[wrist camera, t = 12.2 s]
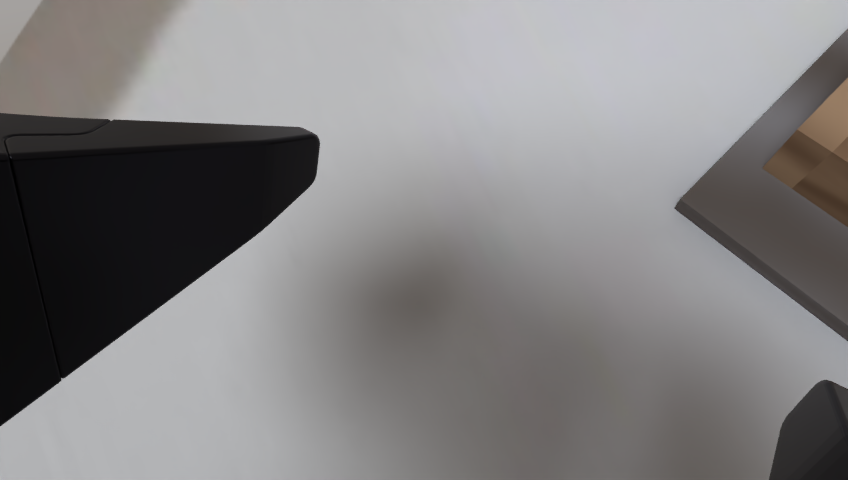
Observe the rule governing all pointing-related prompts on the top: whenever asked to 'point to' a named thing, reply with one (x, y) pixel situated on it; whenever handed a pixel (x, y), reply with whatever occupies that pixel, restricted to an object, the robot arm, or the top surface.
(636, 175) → the top surface
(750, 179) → the socket holder
